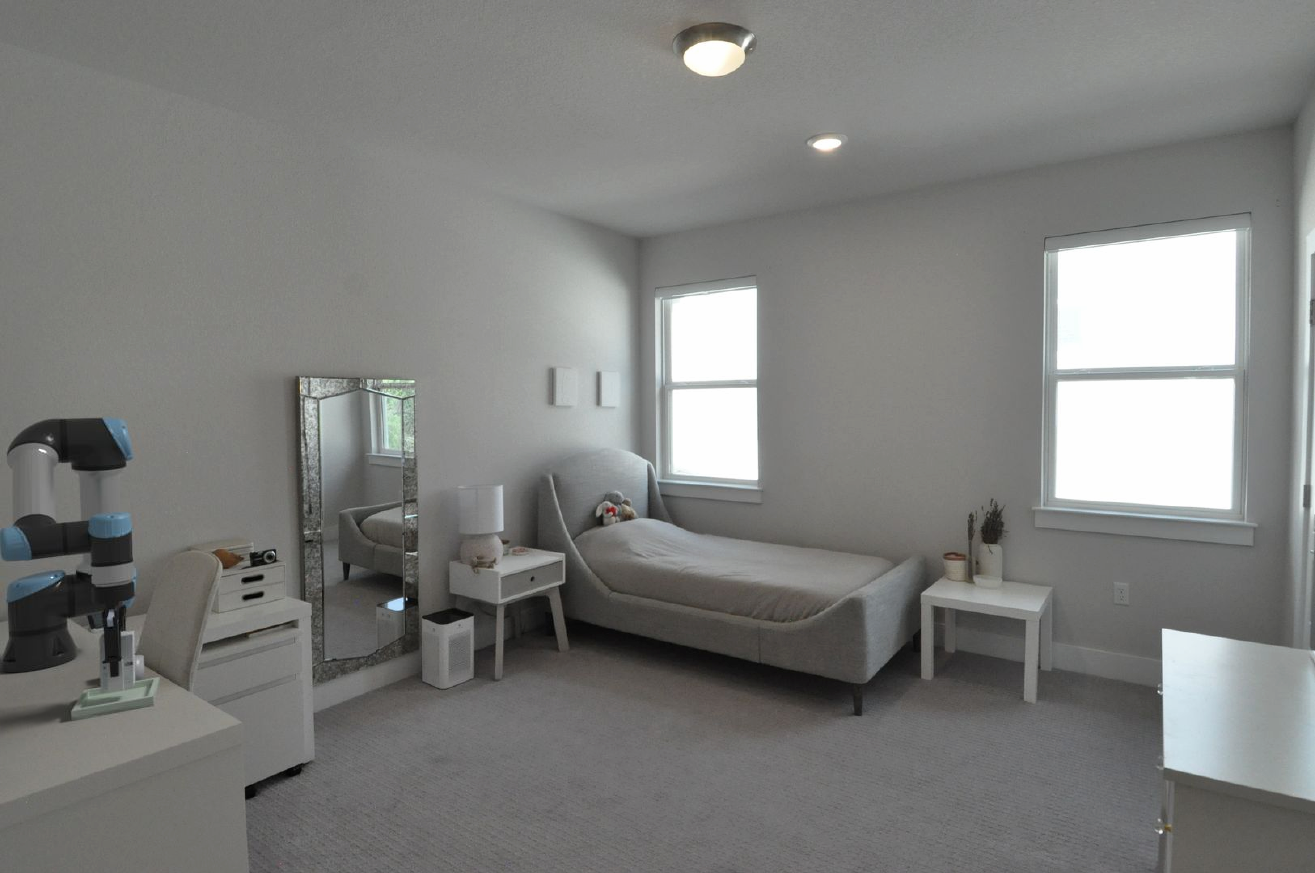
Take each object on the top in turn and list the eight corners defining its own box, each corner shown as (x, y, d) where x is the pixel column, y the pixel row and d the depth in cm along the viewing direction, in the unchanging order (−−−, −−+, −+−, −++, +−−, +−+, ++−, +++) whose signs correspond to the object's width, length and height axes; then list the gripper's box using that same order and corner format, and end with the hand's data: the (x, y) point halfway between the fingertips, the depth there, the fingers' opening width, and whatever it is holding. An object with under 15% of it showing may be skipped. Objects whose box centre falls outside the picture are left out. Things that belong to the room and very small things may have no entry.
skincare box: (100, 693, 153) (97, 639, 152) (102, 687, 157) (100, 633, 156) (135, 687, 156) (132, 633, 156) (137, 681, 160) (134, 628, 159)
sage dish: (84, 698, 159) (84, 689, 159) (159, 685, 166) (159, 676, 166) (71, 720, 147) (71, 711, 147) (153, 705, 154) (153, 696, 154)
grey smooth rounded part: (120, 681, 169) (119, 657, 169) (145, 677, 171) (144, 653, 171) (117, 688, 164) (116, 663, 164) (143, 683, 167) (142, 659, 167)
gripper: (98, 578, 161) (103, 678, 162) (84, 593, 146) (89, 703, 147) (138, 573, 165) (143, 671, 165) (128, 587, 150) (133, 695, 151)
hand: (117, 686), depth 156 cm, fingers closed on skincare box, 4 cm apart
